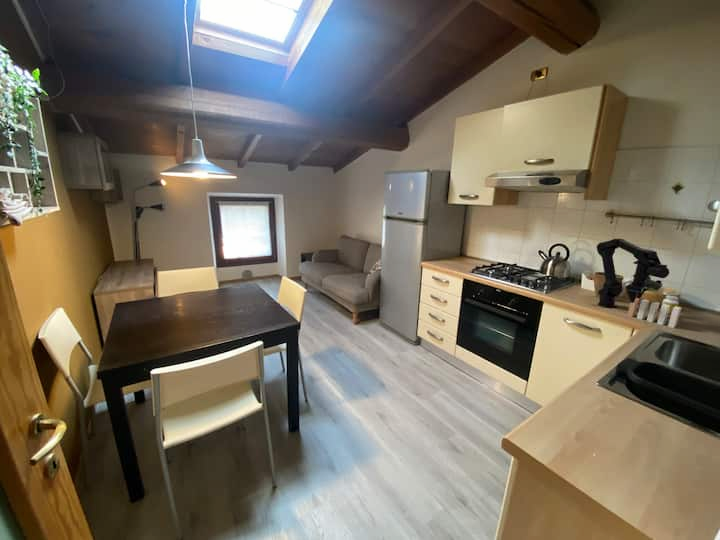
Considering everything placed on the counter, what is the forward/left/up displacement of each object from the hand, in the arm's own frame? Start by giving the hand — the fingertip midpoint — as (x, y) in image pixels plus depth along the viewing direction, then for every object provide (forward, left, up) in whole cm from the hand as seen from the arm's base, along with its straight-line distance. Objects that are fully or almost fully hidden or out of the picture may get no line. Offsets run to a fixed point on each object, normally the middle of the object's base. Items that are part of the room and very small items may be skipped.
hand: (635, 301), depth 159 cm
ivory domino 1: (+4, 0, -8) cm, 9 cm away
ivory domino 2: (+8, 0, -8) cm, 11 cm away
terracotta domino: (0, 0, -8) cm, 8 cm away
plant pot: (-21, +26, -9) cm, 35 cm away
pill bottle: (+10, +21, -9) cm, 25 cm away
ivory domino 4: (+16, 0, -8) cm, 18 cm away
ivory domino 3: (+12, 0, -8) cm, 15 cm away
